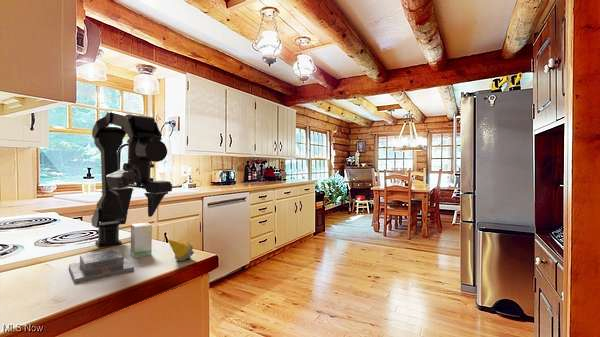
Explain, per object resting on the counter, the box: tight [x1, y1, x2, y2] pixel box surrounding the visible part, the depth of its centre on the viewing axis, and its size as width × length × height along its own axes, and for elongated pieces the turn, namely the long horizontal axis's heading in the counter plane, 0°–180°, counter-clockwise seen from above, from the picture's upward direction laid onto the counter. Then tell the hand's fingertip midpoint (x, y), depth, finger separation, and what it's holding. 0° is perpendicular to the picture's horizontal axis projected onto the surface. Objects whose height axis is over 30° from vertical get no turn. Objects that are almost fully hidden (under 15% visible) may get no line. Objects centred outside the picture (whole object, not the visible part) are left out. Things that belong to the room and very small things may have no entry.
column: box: [129, 222, 153, 259], centre depth 86 cm, size 5×5×9 cm
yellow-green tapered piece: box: [167, 239, 195, 262], centre depth 82 cm, size 5×5×10 cm
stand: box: [68, 248, 135, 284], centre depth 74 cm, size 12×12×4 cm
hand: (137, 214), depth 82 cm, fingers open, 9 cm apart
